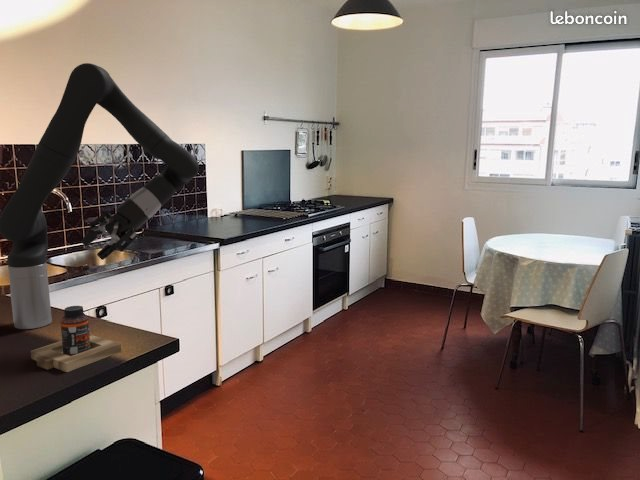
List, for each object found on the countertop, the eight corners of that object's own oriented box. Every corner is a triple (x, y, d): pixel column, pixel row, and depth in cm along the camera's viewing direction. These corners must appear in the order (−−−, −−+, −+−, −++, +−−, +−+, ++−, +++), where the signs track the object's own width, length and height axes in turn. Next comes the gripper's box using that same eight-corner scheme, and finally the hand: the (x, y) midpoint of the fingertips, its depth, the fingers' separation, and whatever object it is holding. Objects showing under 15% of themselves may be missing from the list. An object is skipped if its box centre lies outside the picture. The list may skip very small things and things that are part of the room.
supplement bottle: (80, 359, 120) (76, 312, 118) (57, 357, 121) (53, 310, 120) (96, 350, 126) (92, 304, 124) (74, 348, 127) (70, 303, 125)
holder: (24, 361, 120) (24, 352, 120) (85, 340, 133) (85, 333, 133) (60, 374, 113) (59, 366, 113) (121, 351, 126) (120, 343, 125)
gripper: (117, 189, 140) (69, 230, 134) (146, 208, 132) (96, 253, 126) (132, 208, 145) (86, 248, 140) (161, 227, 137) (113, 270, 132)
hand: (91, 250), depth 133 cm, fingers open, 8 cm apart
